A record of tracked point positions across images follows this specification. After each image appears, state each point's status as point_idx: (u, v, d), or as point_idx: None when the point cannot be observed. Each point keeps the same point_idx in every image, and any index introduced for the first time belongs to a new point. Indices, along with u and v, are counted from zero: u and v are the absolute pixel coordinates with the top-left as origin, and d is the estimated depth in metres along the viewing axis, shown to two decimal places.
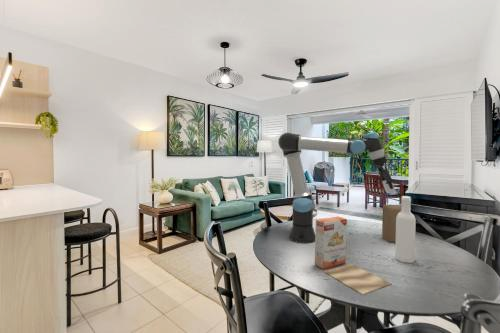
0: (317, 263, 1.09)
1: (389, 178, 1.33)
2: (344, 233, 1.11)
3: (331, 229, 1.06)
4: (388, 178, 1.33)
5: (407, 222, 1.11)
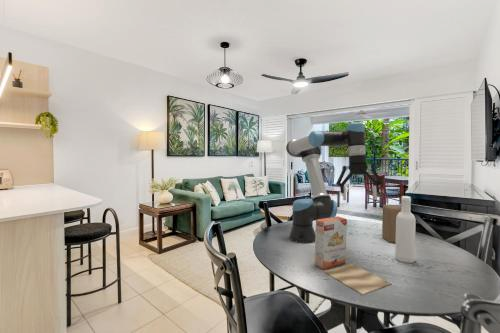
0: (317, 263, 1.09)
1: (338, 180, 1.17)
2: (344, 233, 1.11)
3: (331, 229, 1.06)
4: (338, 180, 1.17)
5: (407, 222, 1.11)
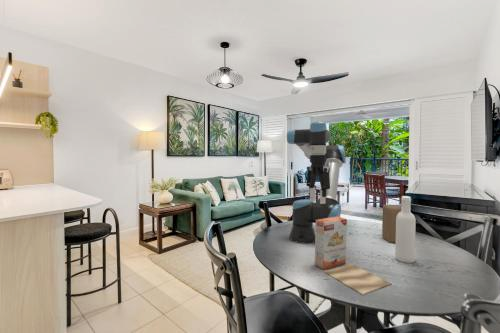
0: (317, 263, 1.09)
1: None
2: (344, 233, 1.11)
3: (331, 229, 1.06)
4: None
5: (407, 222, 1.11)
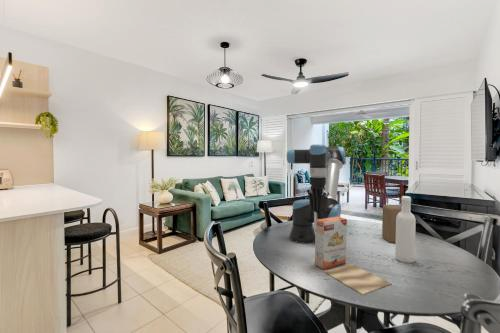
0: (317, 263, 1.09)
1: None
2: (344, 233, 1.11)
3: (331, 229, 1.06)
4: None
5: (407, 222, 1.11)
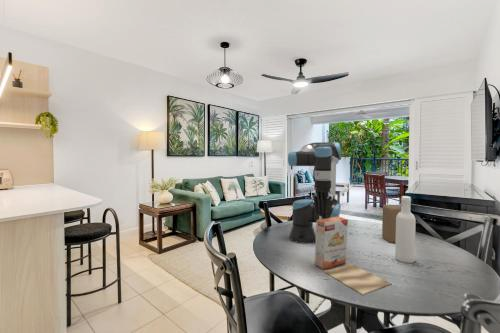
0: (317, 263, 1.09)
1: None
2: (345, 233, 1.10)
3: (331, 229, 1.06)
4: None
5: (407, 222, 1.11)
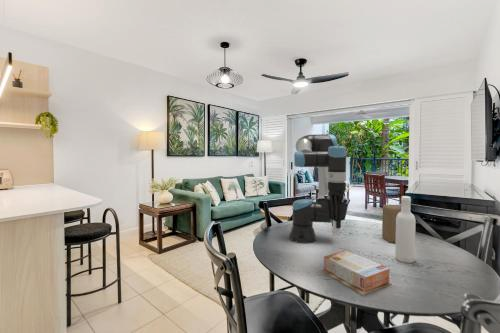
0: (325, 261, 1.04)
1: None
2: None
3: None
4: None
5: (407, 222, 1.11)
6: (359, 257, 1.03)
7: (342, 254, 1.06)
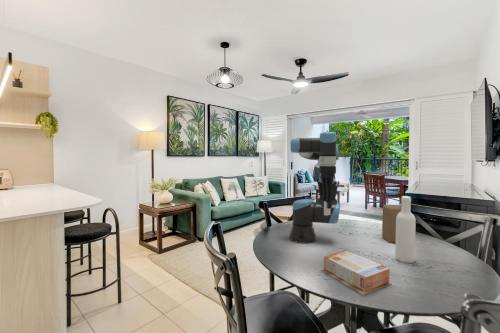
0: (325, 261, 1.04)
1: None
2: None
3: None
4: None
5: (407, 222, 1.11)
6: (359, 257, 1.03)
7: (342, 254, 1.06)
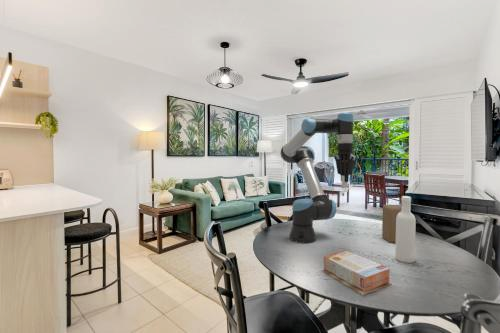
0: (325, 261, 1.04)
1: None
2: None
3: None
4: None
5: (407, 222, 1.11)
6: (359, 257, 1.03)
7: (342, 254, 1.06)
